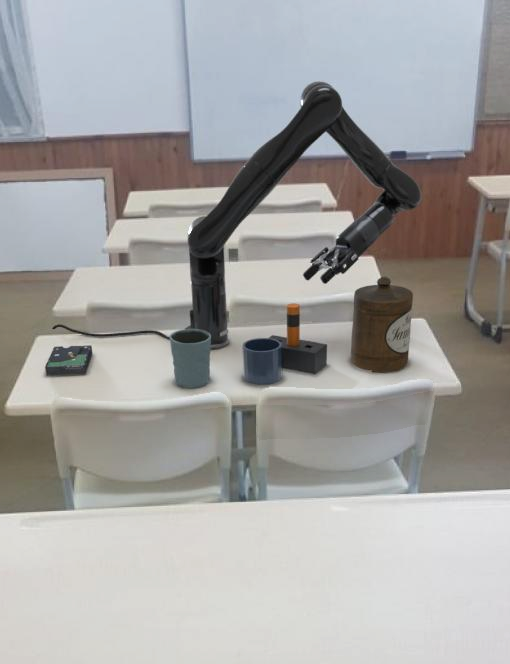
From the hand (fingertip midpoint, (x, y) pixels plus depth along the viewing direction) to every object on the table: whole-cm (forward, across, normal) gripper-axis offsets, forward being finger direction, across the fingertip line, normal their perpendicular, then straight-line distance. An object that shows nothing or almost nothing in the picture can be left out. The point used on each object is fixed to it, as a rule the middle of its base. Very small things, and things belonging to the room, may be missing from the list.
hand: (313, 279), depth 215 cm
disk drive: (+58, -30, -16) cm, 68 cm away
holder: (+18, +1, +13) cm, 22 cm away
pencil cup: (+27, +4, +8) cm, 29 cm away
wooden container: (+1, +10, +25) cm, 27 cm away
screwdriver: (+17, +1, +13) cm, 22 cm away
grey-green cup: (+40, -3, 0) cm, 40 cm away
